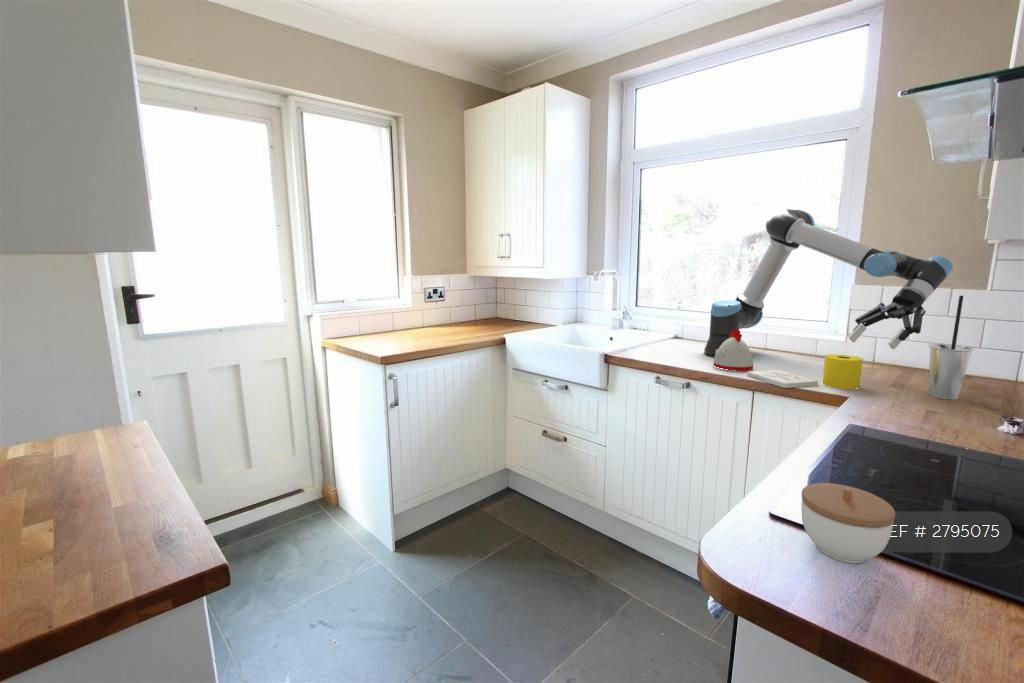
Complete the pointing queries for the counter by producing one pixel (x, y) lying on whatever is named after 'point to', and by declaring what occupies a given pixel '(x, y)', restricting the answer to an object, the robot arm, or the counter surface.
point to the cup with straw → (948, 365)
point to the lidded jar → (846, 521)
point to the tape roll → (842, 371)
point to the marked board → (782, 378)
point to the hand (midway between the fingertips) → (870, 343)
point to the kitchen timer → (734, 354)
